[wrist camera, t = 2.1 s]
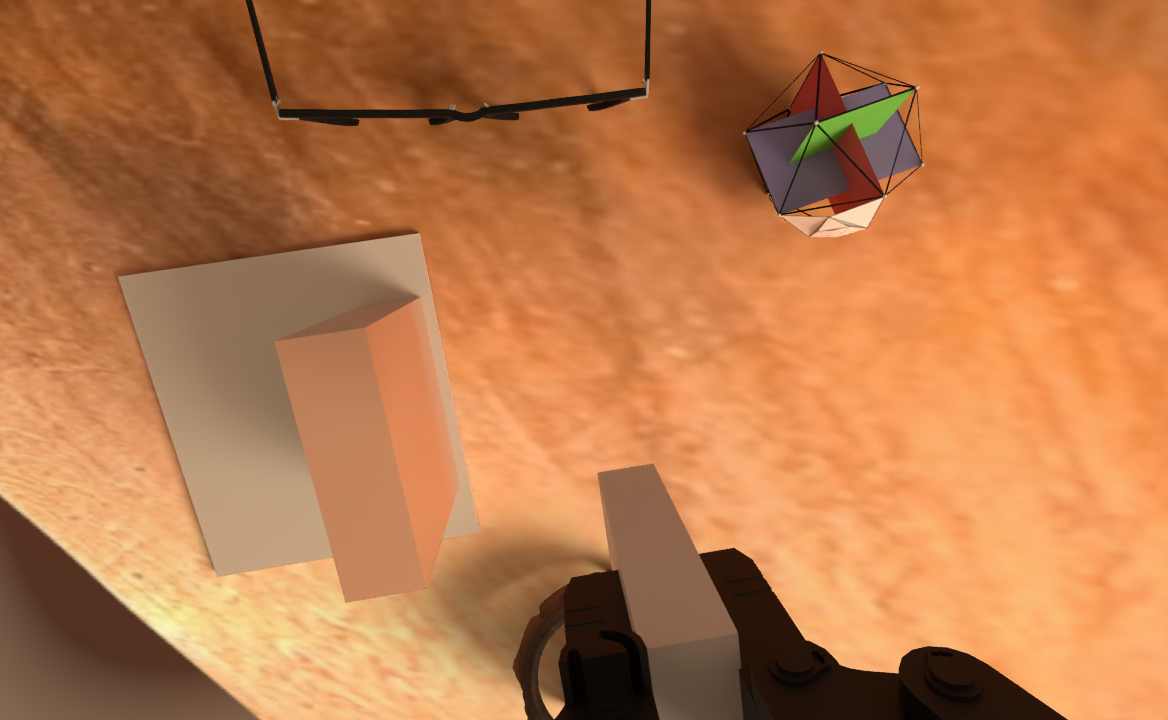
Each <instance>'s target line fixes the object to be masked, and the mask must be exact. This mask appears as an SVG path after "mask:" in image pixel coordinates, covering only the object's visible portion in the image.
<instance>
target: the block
mask: <svg viewBox="0 0 1168 720" xmlns="http://www.w3.org/2000/svg"><path fill="white" fill-rule="evenodd" d="M274 343H275V347H276V351H277V354H278V358H279V362H280V365H281V369H282V373H283V376H284V380H285V383H286V387H287V391H288V394H289V398H290V402H291V405H292V409H293V413H294V416H295V420H296V423H297V427H298V431H299V434H300V438H301V442H302V445H303V449H304V453H305V456H306V460H307V464H308V467H309V471H310V474H311V478H312V482H313V485H314V489H315V493H316V496H317V500H318V504H319V507H320V511H321V514H322V518H323V522H324V525H325V529H326V533H327V536H328V540H329V544H330V547H331V551H332V554H333V558H334V562H335V565H336V569H337V573H338V576H339V580H340V584H341V587H342V591H343V595H344V598H345V602H352V601H358V600H364V599H370V598H376V597H381V596H387V595H393V594H399V593H405V592H411V591H417V590H422V589H426V588H427V585H428V582H429V579H430V576H431V573H432V570H433V566H434V563H435V560H436V557H437V554H438V551H439V548H440V544H441V541H442V538H443V535H444V532H445V529H446V525H447V522H448V519H449V516H450V513H451V510H452V507H453V503H454V500H455V497H456V494H457V491H458V488H459V485H460V483H459V478H458V474H457V469H456V464H455V459H454V454H453V450H452V445H451V440H450V435H449V430H448V426H447V421H446V416H445V411H444V407H443V402H442V397H441V392H440V387H439V383H438V378H437V373H436V368H435V364H434V359H433V354H432V349H431V344H430V340H429V335H428V330H427V325H426V320H425V316H424V311H423V306H422V301H421V297H418V298H412V299H405V300H398V301H391V302H385V303H378V304H371V305H364V306H359V307H356V308H354V309H351V310H349V311H346V312H344V313H342V314H339V315H337V316H334V317H332V318H329V319H327V320H325V321H322V322H320V323H317V324H315V325H313V326H310V327H308V328H305V329H303V330H300V331H298V332H296V333H293V334H291V335H288V336H286V337H283V338H281V339H279V340H276V341H274Z"/></svg>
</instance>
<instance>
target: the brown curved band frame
mask: <svg viewBox="0 0 1168 720" xmlns="http://www.w3.org/2000/svg"><path fill="white" fill-rule="evenodd" d="M607 571H612V570H607ZM596 573H601V572H595V573H592V574H596ZM567 586H568V584H567V585H566V586H564V587H562V588H561V589H559V590H558V591H556V592H555V593H553V594H552V595H551V596H550V597H549V598H547V599H546V600H545V601H544V602H543V603H542V604H541V605H540V607H539V609H540V614H539V615H537V616H534V617H532V618H531V619H530V621H529V623H528V625H527V628H526V630H525V632H524V636H523V638H522V641H521V645H520V648H519V650H518V653H517V655H516V658H515V660H514V664H513V670H514V672H515V675H516V677H517V679H518V681H519V683H520V684H521V688H522V690H523V699H524V702H525V712H526V715H527V717H528V719H527V720H554V719H553V718H552V716H551V715H550V714H549V712H548V711H547V709H546V707H545V705H544V703H543V701H542V698H541V695H540V692H539V687H538V667H539V661H540V657H541V655H542V651H543V649H544V647H545V645H546V643H547V642H548V640H549V639H550V637H551V636H552V635H553V634H554V632H555V631H556V630H557V629H559V628H560V627H561V626H562V625H564V624H565V616H564V615H565V614H564V600H563V594H564V592H565V590H566V588H567Z"/></svg>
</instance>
